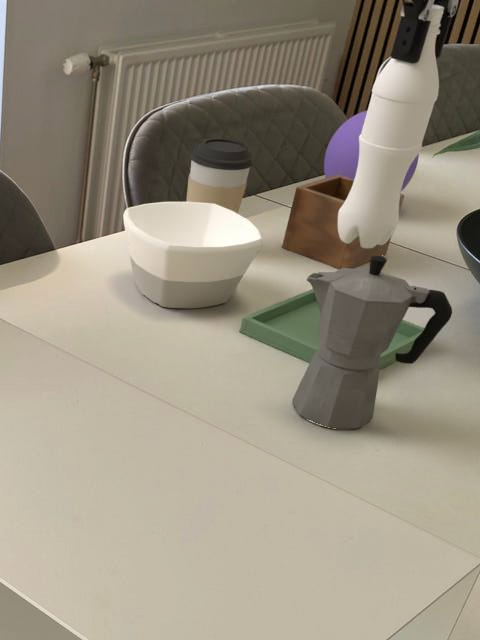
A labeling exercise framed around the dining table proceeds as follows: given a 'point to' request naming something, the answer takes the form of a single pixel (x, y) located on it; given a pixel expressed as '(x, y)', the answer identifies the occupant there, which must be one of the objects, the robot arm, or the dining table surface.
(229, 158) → the coffee cup
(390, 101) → the water bottle
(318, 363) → the coffeepot
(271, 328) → the tray
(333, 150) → the decorative ball
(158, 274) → the bowl
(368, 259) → the wooden box
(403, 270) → the dining table surface
